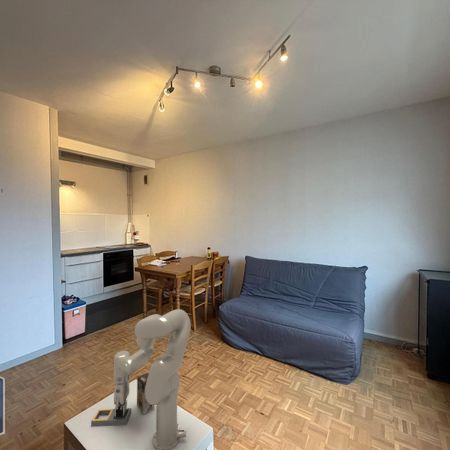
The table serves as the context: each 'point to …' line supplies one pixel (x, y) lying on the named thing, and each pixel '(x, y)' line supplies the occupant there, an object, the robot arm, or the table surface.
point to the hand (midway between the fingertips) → (121, 412)
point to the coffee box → (143, 394)
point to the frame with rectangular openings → (109, 418)
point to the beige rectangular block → (123, 411)
